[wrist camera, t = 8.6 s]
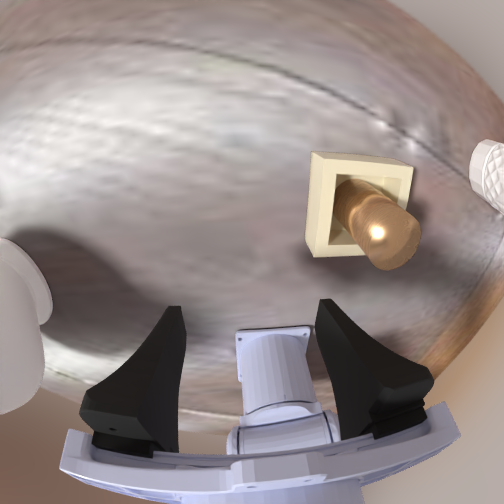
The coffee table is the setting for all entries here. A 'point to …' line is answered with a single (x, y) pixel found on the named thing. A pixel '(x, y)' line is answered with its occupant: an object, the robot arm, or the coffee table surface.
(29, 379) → the decorative vase
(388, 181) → the cream square tray
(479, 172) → the white cup
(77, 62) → the coffee table surface
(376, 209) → the brown cylinder
